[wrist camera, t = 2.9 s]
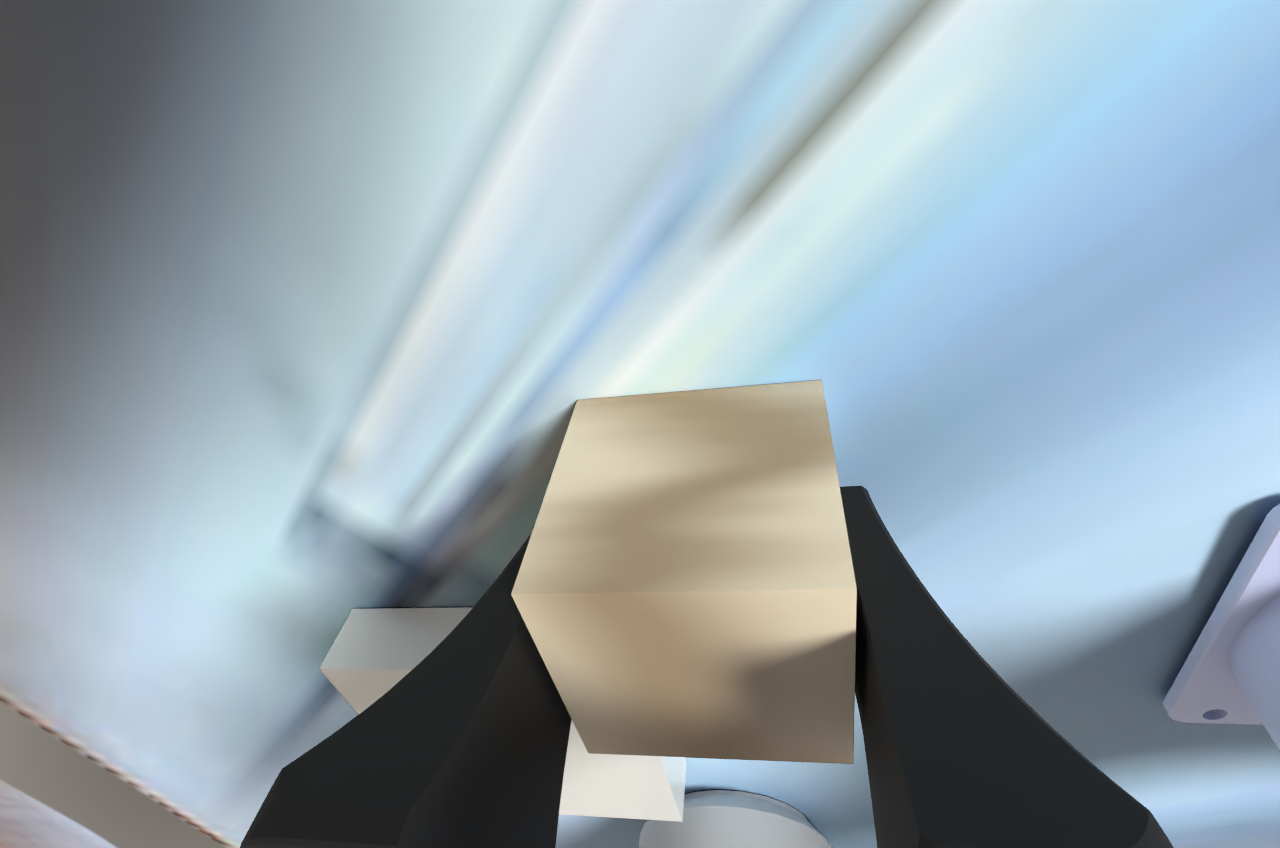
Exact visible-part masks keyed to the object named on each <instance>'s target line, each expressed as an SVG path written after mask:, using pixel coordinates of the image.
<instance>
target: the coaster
mask: <svg viewBox="0 0 1280 848" xmlns="http://www.w3.org/2000/svg"><path fill="white" fill-rule="evenodd" d="M472 608H473V607H467V608H379V609H352V611H351V613H350V614H349V616H348V618H347V620H346V621H345V623H344V625H343V627H342V629H341V630H340V632H339V634H338V636H337V637H336V639H335V641H334V643H333V645H332V646H331V648H330V650H329V652H328V653H327V655H326V657H325V659H324V661H323V662H322V664H321V666H320V668H319V669H320V670H321V671H322V672H323V674H324V675H325V676H326V677H327V678H328V679H329V681H330V682H331V683H332V684H333V685H334V686H335V688H336V689H337V690H338V691H339V692H340V693H341V695H342V696H343V697H344V698H345V699H346V700H347V702H348V703H349V704H350V705H351V706H352V707H353V709H354V710H355V711H356V712H357V713H358V714H360V713H362V712H363V711H364V710H365V709H367V708H368V707H369V706H370V705H372V704H373V703H374V702H375V701H377V700H378V699H379V698H380V697H382V696H383V695H384V694H385V693H386V692H388V691H389V690H390V689H391V688H392V687H393V686H395V685H396V684H397V683H398V682H399V681H400V680H401V679H402V678H403V677H405V676H406V675H407V674H408V673H409V672H410V671H411V670H412V669H413V668H415V667H416V666H417V665H418V664H419V663H420V662H421V661H422V660H423V659H424V658H425V657H427V656H428V655H429V654H430V653H431V652H432V651H433V650H434V649H435V648H436V647H437V646H438V645H439V644H440V643H441V642H442V641H443V640H444V639H445V638H446V637H447V636H448V635H449V634H450V633H451V631H452V630H453V629H454V628H455V627H456V626H457V625H458V624H459V623H460V622H461V621H462V620H463V618H464V617H465V616H466V615H467V614H468V613H469V612H470V611H471V609H472ZM686 762H687V760H686V757H665V756H640V755H614V754H589V753H588V752H587V750H586V748H585V746H584V743H583V741H582V739H581V737H580V735H579V733H578V731H577V729H576V727H575V725H574V723H573V721H571V726H570V733H569V740H568V747H567V754H566V761H565V768H564V776H563V784H562V792H561V800H560V808H559V814H563V815H580V816H596V817H613V818H629V819H645V820H662V821H678V822H683V807H684V792H685V777H686Z"/></svg>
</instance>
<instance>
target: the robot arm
mask: <svg viewBox="0 0 1280 848" xmlns="http://www.w3.org/2000/svg"><path fill="white" fill-rule="evenodd" d="M840 492H841V498H842V504H843V510H844V516H845V522H846V528H847V534H848V540H849V546H850V552H851V558H852V564H853V569H854V575H855V581H856V587H857V601H856V652H855V694H856V699H857V703H858V708H859V713H860V718H861V724H862V729H863V735H864V743H865V751H866V759H867V766H868V774H869V782H870V790H871V798H872V806H873V814H874V822H875V830H876V839H877V847H878V848H1173V846H1172V844H1171V843H1170V841H1169V839H1168V838H1167V836H1166V835H1165V833H1164V832H1163V830H1162V828H1161V827H1160V825H1159V824H1158V822H1157V821H1156V819H1155V818H1154V816H1153V815H1152V813H1151V812H1150V811H1149V810H1148V809H1147V808H1146V807H1144V806H1143V805H1142V804H1141V803H1139V802H1138V801H1137V800H1136V799H1134V798H1133V797H1132V796H1131V795H1129V794H1128V793H1127V792H1126V791H1125V790H1123V789H1122V788H1121V787H1120V786H1118V785H1117V784H1116V783H1115V782H1113V781H1112V780H1111V779H1110V778H1109V777H1108V776H1106V775H1105V774H1104V773H1103V772H1102V771H1100V770H1099V769H1098V768H1097V767H1096V766H1095V765H1093V764H1092V763H1091V762H1090V761H1089V760H1087V759H1086V758H1085V757H1084V756H1083V755H1082V754H1081V753H1080V752H1078V751H1077V750H1076V749H1075V748H1074V747H1073V746H1072V745H1071V744H1070V743H1068V742H1067V741H1066V740H1065V739H1064V738H1063V737H1062V736H1061V735H1059V734H1058V733H1057V732H1056V731H1055V730H1054V729H1053V728H1052V727H1051V726H1050V725H1049V724H1048V723H1046V722H1045V721H1044V720H1043V719H1042V718H1041V717H1040V716H1039V715H1038V714H1037V713H1036V712H1035V711H1034V710H1033V709H1032V708H1031V707H1030V706H1029V705H1028V704H1027V703H1026V702H1025V701H1024V700H1023V699H1022V698H1021V697H1020V696H1019V695H1018V694H1017V693H1016V692H1015V691H1014V690H1013V689H1012V688H1011V687H1010V686H1009V685H1007V684H1006V683H1005V681H1004V680H1003V679H1002V678H1001V677H1000V676H999V675H998V674H997V673H996V672H995V671H994V670H993V669H992V668H991V667H990V665H989V664H988V663H987V662H986V661H985V660H984V659H983V658H982V657H981V656H980V655H979V654H978V652H977V651H976V650H975V649H974V648H973V647H972V646H971V644H970V643H969V642H968V641H967V640H966V639H965V638H964V636H963V635H962V634H961V633H960V632H959V630H958V629H957V628H956V627H955V626H954V624H953V623H952V622H951V621H950V619H949V618H948V617H947V616H946V614H945V613H944V612H943V611H942V609H941V608H940V607H939V605H938V604H937V603H936V601H935V600H934V599H933V598H932V596H931V595H930V594H929V592H928V591H927V590H926V588H925V587H924V585H923V584H922V583H921V581H920V580H919V578H918V577H917V576H916V574H915V573H914V571H913V570H912V568H911V567H910V565H909V564H908V562H907V561H906V559H905V558H904V556H903V555H902V553H901V552H900V550H899V549H898V547H897V545H896V544H895V542H894V541H893V539H892V537H891V535H890V534H889V532H888V530H887V529H886V527H885V525H884V523H883V522H882V520H881V518H880V516H879V514H878V512H877V510H876V508H875V506H874V504H873V502H872V500H871V498H870V496H869V493H868V491H867V490H866V489H865V488H864V487H862V486H849V487H840ZM531 534H532V533H531ZM531 534H530V536H529V537H528V539H527V540H526V541H525V543H524V544H523V545H522V547H521V548H520V549H519V551H518V552H517V553H516V555H515V556H514V557H513V559H512V560H511V561H510V563H509V564H508V565H507V566H506V568H505V569H504V570H503V572H502V573H501V574H500V576H499V577H498V578H497V579H496V581H495V582H494V583H493V584H492V586H491V587H490V588H489V589H488V590H487V592H486V593H485V594H484V595H483V596H482V597H481V599H480V600H479V601H478V602H477V603H476V605H475V606H474V607H473V608H472V609H471V611H470V612H469V613H468V614H467V615H466V616H465V617H464V618H463V620H462V621H461V622H460V623H459V624H458V625H457V626H456V627H455V628H454V629H453V630H452V631H451V633H450V634H449V635H448V636H447V637H446V638H445V639H444V640H443V641H442V642H441V643H440V644H439V645H438V646H437V647H436V648H435V649H434V650H433V651H432V652H431V653H430V654H429V655H428V656H427V657H425V658H424V659H423V660H422V661H421V662H420V663H419V664H418V665H417V666H416V667H415V668H413V669H412V670H411V671H410V672H409V673H408V674H407V675H406V676H405V677H403V678H402V679H401V680H400V681H399V682H398V683H397V684H396V685H395V686H393V687H392V688H391V689H390V690H389V691H388V692H386V693H385V694H384V695H383V696H382V697H380V698H379V699H378V700H377V701H375V702H374V703H373V704H372V705H370V706H369V707H368V708H367V709H365V710H364V711H363V712H362V713H360V714H359V715H358V716H356V717H355V718H354V719H352V720H351V721H350V722H349V723H347V724H346V725H345V726H343V727H342V728H341V729H339V730H338V731H336V732H335V733H334V734H332V735H331V736H329V737H328V738H327V739H325V740H324V741H322V742H321V743H319V744H318V745H316V746H315V747H314V748H312V749H311V750H309V751H308V752H306V753H305V754H303V755H302V756H301V757H299V758H298V759H296V760H295V761H293V762H292V763H290V764H289V765H287V766H286V767H284V768H283V769H282V770H281V772H280V773H279V775H278V777H277V779H276V780H275V782H274V784H273V786H272V787H271V789H270V791H269V793H268V795H267V797H266V799H265V800H264V802H263V804H262V806H261V808H260V810H259V812H258V813H257V815H256V817H255V819H254V821H253V823H252V825H251V827H250V828H249V830H248V832H247V834H246V836H245V838H244V840H243V841H242V843H241V847H240V848H555V845H556V835H557V826H558V816H559V808H560V800H561V792H562V784H563V776H564V768H565V761H566V754H567V747H568V740H569V733H570V726H571V721H572V719H571V717H570V715H569V713H568V711H567V709H566V706H565V704H564V702H563V700H562V698H561V696H560V694H559V692H558V690H557V688H556V686H555V684H554V682H553V680H552V678H551V676H550V674H549V671H548V669H547V667H546V665H545V663H544V661H543V659H542V657H541V655H540V653H539V651H538V649H537V647H536V645H535V643H534V641H533V639H532V636H531V634H530V632H529V630H528V628H527V626H526V624H525V622H524V620H523V618H522V616H521V614H520V612H519V610H518V608H517V606H516V604H515V601H514V599H513V597H512V595H511V593H512V590H513V587H514V584H515V581H516V578H517V575H518V573H519V570H520V567H521V564H522V561H523V558H524V555H525V552H526V549H527V546H528V543H529V540H530V537H531ZM1163 706H1164V708H1165V710H1166V712H1167V713H1168V715H1169V717H1170V718H1171V719H1173V720H1175V721H1178V722H1182V723H1205V724H1246V725H1263V726H1264V727H1265V729H1266V730H1267V732H1268V733H1269V735H1270V736H1271V738H1272V740H1273V741H1274V743H1275V744H1276V746H1277V747H1278V749H1279V751H1280V504H1279V505H1277V506H1275V507H1274V508H1273V509H1272V510H1271V511H1270V512H1269V513H1268V514H1267V516H1266V517H1265V519H1264V521H1263V523H1262V524H1261V526H1260V528H1259V530H1258V532H1257V533H1256V535H1255V537H1254V539H1253V541H1252V542H1251V544H1250V546H1249V548H1248V550H1247V551H1246V553H1245V555H1244V557H1243V559H1242V560H1241V562H1240V564H1239V566H1238V568H1237V569H1236V571H1235V573H1234V575H1233V577H1232V578H1231V580H1230V582H1229V584H1228V586H1227V587H1226V589H1225V591H1224V593H1223V595H1222V596H1221V598H1220V600H1219V602H1218V604H1217V605H1216V607H1215V609H1214V611H1213V613H1212V614H1211V616H1210V618H1209V620H1208V622H1207V623H1206V625H1205V627H1204V629H1203V631H1202V632H1201V634H1200V636H1199V638H1198V640H1197V641H1196V643H1195V645H1194V647H1193V649H1192V650H1191V652H1190V654H1189V656H1188V658H1187V659H1186V661H1185V663H1184V665H1183V667H1182V668H1181V670H1180V672H1179V674H1178V676H1177V677H1176V679H1175V681H1174V683H1173V685H1172V686H1171V688H1170V690H1169V692H1168V694H1167V695H1166V697H1165V699H1164V701H1163Z"/></svg>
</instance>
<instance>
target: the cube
mask: <svg viewBox="0 0 1280 848" xmlns="http://www.w3.org/2000/svg"><path fill="white" fill-rule="evenodd" d="M511 595H512V597H513V599H514V601H515V604H516V606H517V608H518V610H519V612H520V614H521V616H522V618H523V620H524V622H525V624H526V626H527V628H528V630H529V632H530V634H531V636H532V639H533V641H534V643H535V645H536V647H537V649H538V651H539V653H540V655H541V657H542V659H543V661H544V663H545V665H546V667H547V669H548V671H549V674H550V676H551V678H552V680H553V682H554V684H555V686H556V688H557V690H558V692H559V694H560V696H561V698H562V700H563V702H564V704H565V706H566V709H567V711H568V713H569V715H570V717H571V719H572V721H573V723H574V725H575V727H576V729H577V731H578V733H579V735H580V737H581V739H582V741H583V743H584V746H585V748H586V750H587V752H588V753H589V754H614V755H640V756H665V757H690V758H716V759H741V760H767V761H792V762H818V763H843V764H853V752H854V702H855V652H856V601H857V587H856V581H855V575H854V569H853V564H852V558H851V552H850V546H849V540H848V534H847V528H846V522H845V516H844V510H843V504H842V498H841V492H840V486H839V480H838V474H837V468H836V462H835V456H834V450H833V444H832V438H831V432H830V426H829V420H828V414H827V408H826V402H825V397H824V391H823V385H822V380H814V381H802V382H790V383H778V384H766V385H754V386H742V387H730V388H718V389H705V390H693V391H681V392H669V393H657V394H645V395H633V396H621V397H609V398H597V399H585V400H577V402H576V405H575V408H574V411H573V414H572V417H571V420H570V423H569V426H568V429H567V432H566V435H565V438H564V440H563V443H562V446H561V449H560V452H559V455H558V458H557V461H556V464H555V467H554V470H553V473H552V476H551V479H550V482H549V485H548V487H547V490H546V493H545V496H544V499H543V502H542V505H541V508H540V511H539V514H538V517H537V520H536V523H535V526H534V529H533V531H532V534H531V537H530V540H529V543H528V546H527V549H526V552H525V555H524V558H523V561H522V564H521V567H520V570H519V573H518V575H517V578H516V581H515V584H514V587H513V590H512V593H511Z"/></svg>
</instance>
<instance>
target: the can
mask: <svg viewBox="0 0 1280 848" xmlns="http://www.w3.org/2000/svg"><path fill="white" fill-rule="evenodd" d="M639 848H832V847H831V846H830V844H829V843H828V842H827V840H826V839H825V837H824V836H823V835H822V834H820V833H819V832H818V831H817V830H816V829H815V828H814V827H813V826H812V825H811V824H810V823H809V821H808V820H807V819H806V817H805V816H804V815H803V814H802V813H801V812H799V811H798V810H796V809H794V808H793V807H791V806H790V805H788V804H786V803H783V802H780V801H778V800H775V799H772V798H770V797H767V796H762V795H757V794H752V793H747V792H742V791H726V790H711V791H699V792H692V793H689V794H685V795H684V807H683V822H678V821H662V820H648V821H647V822H645V824H644V826H643V828H642V831H641V833H640V839H639Z"/></svg>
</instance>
